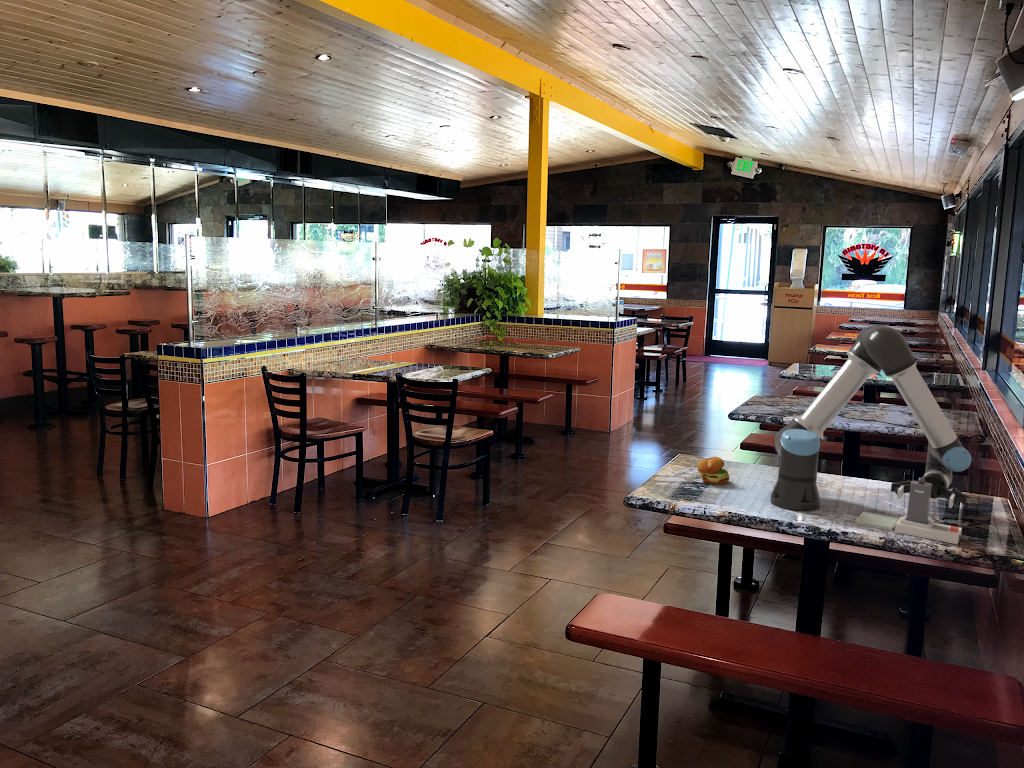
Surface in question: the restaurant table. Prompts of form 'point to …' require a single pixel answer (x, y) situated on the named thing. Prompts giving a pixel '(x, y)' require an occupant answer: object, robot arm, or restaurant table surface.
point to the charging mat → (876, 521)
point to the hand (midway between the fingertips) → (924, 498)
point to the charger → (919, 501)
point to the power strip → (930, 530)
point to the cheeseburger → (713, 471)
